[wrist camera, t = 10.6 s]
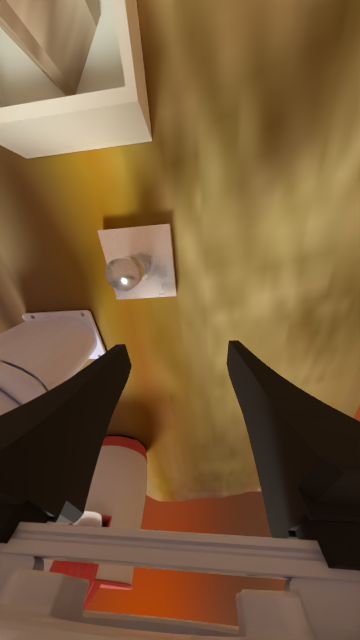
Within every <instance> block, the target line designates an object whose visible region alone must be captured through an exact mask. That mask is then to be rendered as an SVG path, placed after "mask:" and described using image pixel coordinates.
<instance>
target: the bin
mask: <svg viewBox="0 0 360 640" xmlns="http://www.w3.org/2000/svg"><path fill="white" fill-rule="evenodd" d="M96 3H97V5H98V8H99V11H100V13H101V16H100V19H99V22H98V25H97V28H96V31H95V35H94V38H93V41H92V44H91V47H90V51H89V54H88V57H87V60H86V63H85V66H84V70H83V73H82V76H81V79H80V82H79V86H78V89H77V92H76V95H72V96H66V95H65V94H64V93H63V92H62V91H61V90H60V89H59V88H58V87H57V86H56V85H55V84H54V83H53V82H52V81H51V80H50V79H49V77H48V76H47V75H46V74H45V73H44V72H43V71H42V70H41V69H40V68H39V67H38V66H37V65H36V64H35V63H34V62H33V61H32V60H31V59H30V58H29V57H28V56H27V55H26V54H25V53H24V52H23V51H22V50H21V48H20V47H19V46H18V45H17V44H16V43H15V42H14V41H13V40H12V39H11V38H10V37H9V36H8V35H7V34H6V33H5V32H4V31H3V29H2V28H1V27H0V145H1V146H3V147H5V148H7V149H9V150H11V151H13V152H15V153H17V154H19V155H21V156H23V157H25V158H27V159H28V158H35V157H42V156H50V155H57V154H64V153H71V152H78V151H86V150H93V149H100V148H107V147H114V146H121V145H129V144H136V143H143V142H150V141H152V133H151V125H150V116H149V107H148V98H147V89H146V80H145V71H144V62H143V53H142V44H141V35H140V26H139V18H138V9H137V0H96Z"/></svg>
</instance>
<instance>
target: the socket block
mask: <svg viewBox="0 0 360 640" xmlns="http://www.w3.org/2000/svg"><path fill="white" fill-rule="evenodd" d="M100 16H101V13H100V11H99V8H98V5H97V3H96V0H0V27H1V28H2V29H3V31H4V32H5V33H6V34H7V35H8V36H9V37H10V38H11V39H12V40H13V41H14V42H15V43H16V44H17V45H18V46H19V47H20V48H21V50H22V51H23V52H24V53H25V54H26V55H27V56H28V57H29V58H30V59H31V60H32V61H33V62H34V63H35V64H36V65H37V66H38V67H39V68H40V69H41V70H42V71H43V72H44V73H45V74H46V75H47V76H48V77H49V79H50V80H51V81H52V82H53V83H54V84H55V85H56V86H57V87H58V88H59V89H60V90H61V91H62V92H63V93H64V94H65V95H66V96H72V95H76V92H77V89H78V86H79V82H80V79H81V76H82V73H83V70H84V66H85V63H86V60H87V57H88V54H89V51H90V47H91V44H92V41H93V38H94V35H95V31H96V28H97V25H98V22H99V19H100Z"/></svg>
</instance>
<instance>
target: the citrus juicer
mask: <svg viewBox="0 0 360 640" xmlns="http://www.w3.org/2000/svg"><path fill="white" fill-rule="evenodd" d="M146 487H147V456H146V449H145V447H144V446H143V445H142V444H141V443H140V442H139V441H138V440H133V439H130V438H127V437H121V436H107V437H105V438H104V440H103V444H102V447H101V450H100V453H99V457H98V460H97V464H96V467H95V471H94V475H93V478H92V482H91V486H90V490H89V494H88V498H87V502H86V506H85V510H84V514H83V515H82V516H81V518H80V519H79V520H78V521H77V522H75V523H59V522H56V523H52V524H63V525H79V526H95V527H110V528H126V529H140V527H141V521H142V515H143V509H144V503H145V495H146ZM43 560H44V571H46V572H54V573H62V574H65V575H68V576H73V577H77V578H83V579H88V580H89V587H88V590H87V594H86V597H85V601H84V605H83V610H85V608H86V607H87V606H88V604H89V603H90V601H91V600H92V598H93V597H94V595H95V594H96V592H97V590H98V589H99V587H100V588H112V589H128V590H131V589H132V585H131V581H132V575H133V569H134V567H130V566H118V565H106V564H94V563H82V562H70V561H58V560H46V559H43Z"/></svg>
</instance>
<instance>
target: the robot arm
mask: <svg viewBox="0 0 360 640" xmlns="http://www.w3.org/2000/svg"><path fill="white" fill-rule="evenodd" d="M82 313H83V314H84V315H83V314H82ZM22 317H23V319H24V320H25V322H23V323H21V324H19V325H17V326H15V327H13V328H11V329H9V330H7V331H5V332H3V333H1V334H0V640H360V422H359V421H358V420H356V419H354V418H352V417H350V416H348V415H346V414H344V413H342V412H340V411H338V410H336V409H334V408H332V407H331V406H329V405H327V404H325V403H323V402H322V401H320V400H318V399H316V398H315V397H313V396H311V395H310V394H308V393H306V392H305V391H303V390H301V389H300V388H298V387H297V386H295V385H294V384H292V383H291V382H289V381H288V380H286V379H285V378H283V377H282V376H280V375H279V374H277V373H276V372H275V371H274V370H272V369H271V368H270V367H268V366H267V365H266V364H264V363H263V362H262V361H261V360H260V359H258V358H257V357H256V356H255V355H254V354H253V353H252V352H250V351H249V350H248V349H247V348H246V347H245V346H244V345H243V344H242V343H240V342H239V341H229V345H228V356H227V367H228V372H229V376H230V379H231V382H232V385H233V388H234V391H235V394H236V396H237V399H238V402H239V405H240V407H241V410H242V413H243V416H244V420H245V423H246V427H247V431H248V435H249V439H250V443H251V447H252V451H253V455H254V459H255V463H256V468H257V472H258V476H259V481H260V485H261V490H262V494H263V498H264V504H265V508H266V513H267V518H268V523H269V527H270V532H271V535H272V538H267V537H252V536H236V535H221V534H204V533H189V532H172V531H157V530H142V529H126V528H110V527H95V526H79V525H63V524H47V522H50V523H56V522H59V523H75V522H77V521H78V520H79V519H80V518H81V516H82V515H83V514H84V510H85V506H86V502H87V498H88V494H89V490H90V486H91V482H92V478H93V475H94V471H95V467H96V464H97V460H98V457H99V453H100V450H101V447H102V444H103V440H104V437H105V434H106V431H107V428H108V425H109V422H110V419H111V417H112V414H113V412H114V409H115V407H116V405H117V403H118V400H119V398H120V396H121V394H122V391H123V389H124V387H125V384H126V382H127V380H128V377H129V373H130V370H131V362H130V359H129V356H128V353H127V349H126V346H125V344H120V345H115V346H114V347H112V348H111V349H110V350H108V351H107V352H106V350H105V348H104V345H103V343H102V340H101V338H100V335H99V332H98V330H97V327H96V325H95V322H94V319H93V317H92V314H91V312H90V311H88V310H76V311H57V312H38V313H25V314H23V315H22ZM100 355H101V356H100ZM88 359H96V360H95V361H94V362H92V363H91V364H90V365H88V366H87V367H85V368H84V369H82V370H81V371H80V372H78V371H79V369H80V368H81V367H82V366H83V365H84V363H85V362H86V361H87V360H88ZM77 372H78V373H77ZM76 373H77V374H76ZM43 559H46V560H58V561H70V562H82V563H94V564H106V565H118V566H130V567H143V568H154V569H166V570H178V571H191V572H202V573H213V574H225V575H237V576H249V577H262V578H274V579H286V582H285V584H284V591H266V590H265V591H264V590H242V592H241V593H237V595H236V604H237V611H238V619H239V627H237V626H229V625H221V624H213V623H204V622H196V621H188V620H180V619H171V618H162V617H152V616H141V615H132V614H121V613H110V612H99V611H88V610H83V605H84V601H85V597H86V594H87V590H88V587H89V580H88V579H83V578H77V577H73V576H68V575H65V574H62V573H54V572H46V571H44V560H43Z"/></svg>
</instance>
